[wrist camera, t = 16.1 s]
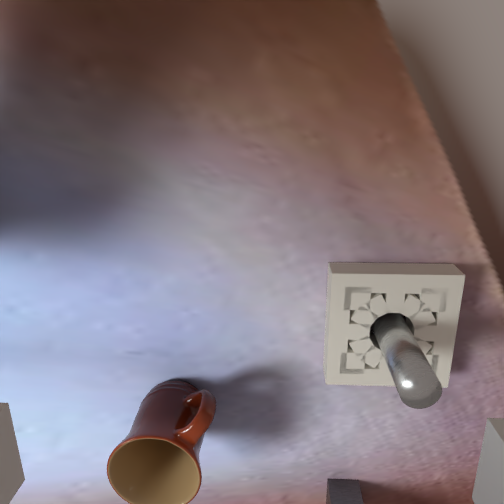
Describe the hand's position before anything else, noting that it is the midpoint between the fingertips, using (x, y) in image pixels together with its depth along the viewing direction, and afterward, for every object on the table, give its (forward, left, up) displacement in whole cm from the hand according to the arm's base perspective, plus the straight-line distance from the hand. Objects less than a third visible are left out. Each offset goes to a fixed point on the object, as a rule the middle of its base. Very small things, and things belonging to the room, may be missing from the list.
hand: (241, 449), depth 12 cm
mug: (-9, -22, -32) cm, 40 cm away
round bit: (+12, -12, -32) cm, 36 cm away
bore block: (+12, -12, -32) cm, 36 cm away
